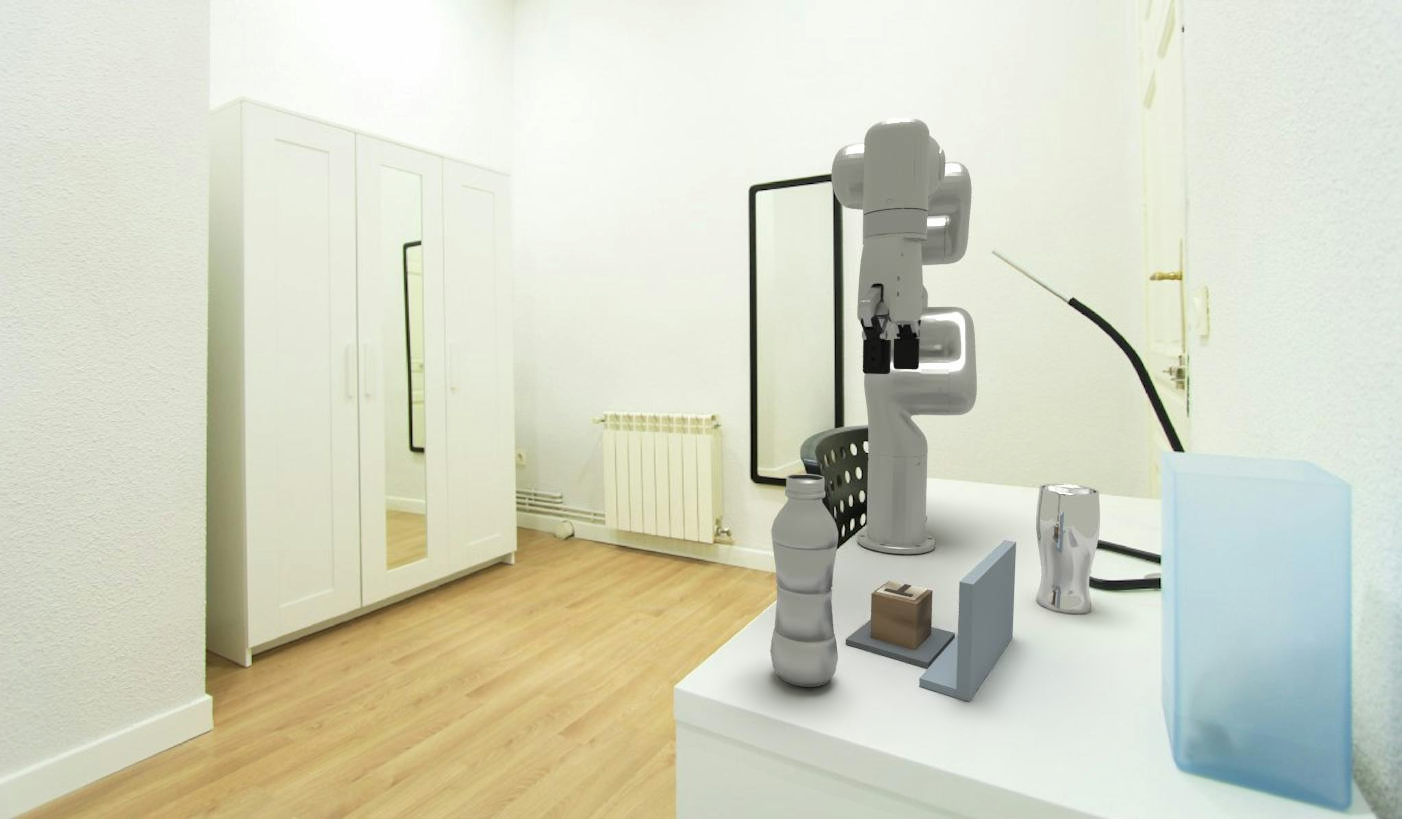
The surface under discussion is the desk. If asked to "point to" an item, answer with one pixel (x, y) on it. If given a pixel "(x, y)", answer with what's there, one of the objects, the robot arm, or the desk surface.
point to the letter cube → (901, 614)
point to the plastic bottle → (804, 585)
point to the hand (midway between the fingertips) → (891, 371)
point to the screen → (978, 626)
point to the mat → (917, 657)
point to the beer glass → (1066, 545)
